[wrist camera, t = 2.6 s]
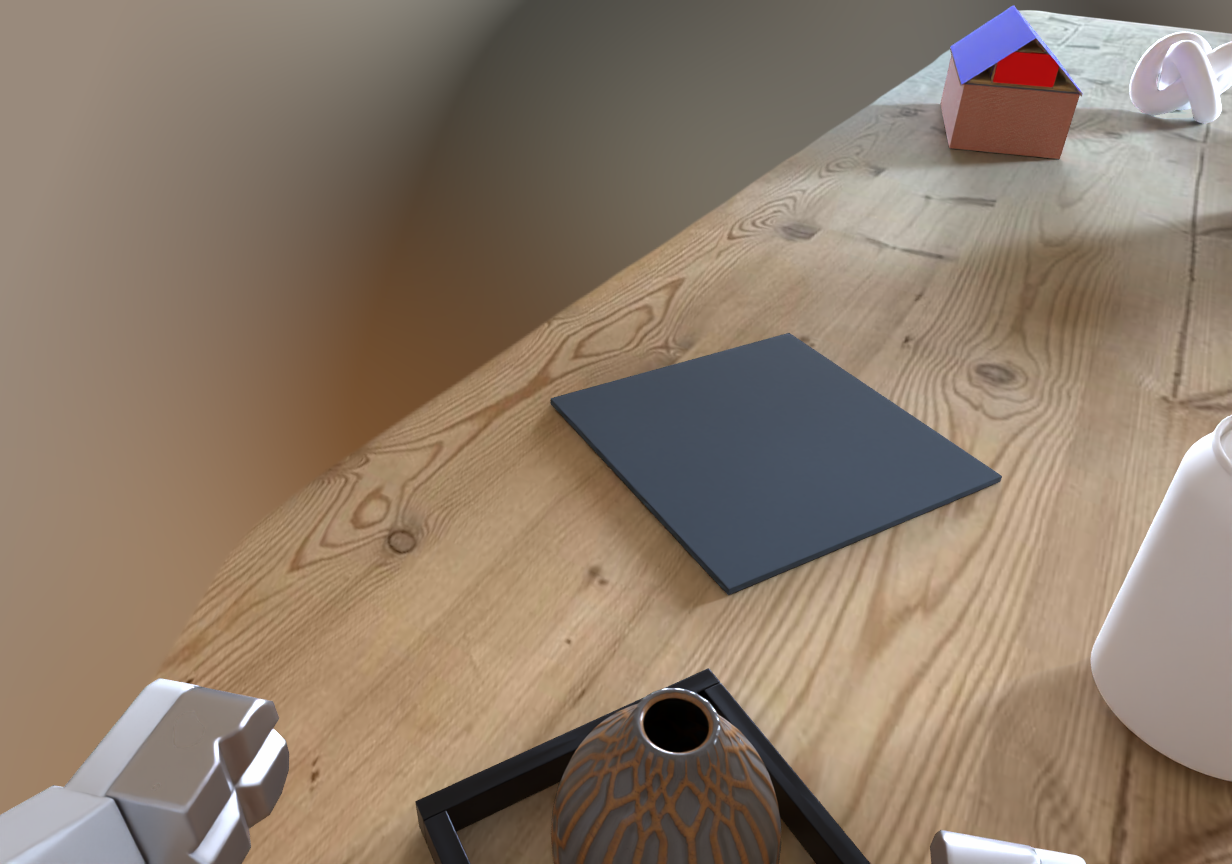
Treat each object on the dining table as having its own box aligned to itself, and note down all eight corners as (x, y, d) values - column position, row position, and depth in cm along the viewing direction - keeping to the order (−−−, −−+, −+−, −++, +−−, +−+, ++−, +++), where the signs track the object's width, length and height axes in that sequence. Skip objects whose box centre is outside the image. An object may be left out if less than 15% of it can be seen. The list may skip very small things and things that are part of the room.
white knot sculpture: (1245, 134, 105) (1279, 53, 100) (1135, 124, 108) (1163, 44, 103) (1218, 110, 114) (1248, 34, 109) (1116, 101, 117) (1141, 26, 112)
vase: (510, 876, 30) (498, 703, 25) (666, 764, 33) (683, 593, 28) (647, 1064, 25) (666, 900, 20) (809, 911, 29) (858, 740, 24)
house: (1037, 111, 111) (1067, 9, 105) (1063, 160, 95) (1100, 42, 89) (937, 102, 113) (960, 1, 107) (946, 148, 97) (973, 32, 91)
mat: (728, 595, 41) (729, 589, 40) (550, 403, 53) (550, 398, 53) (1000, 482, 48) (1002, 476, 48) (788, 337, 61) (789, 332, 61)
